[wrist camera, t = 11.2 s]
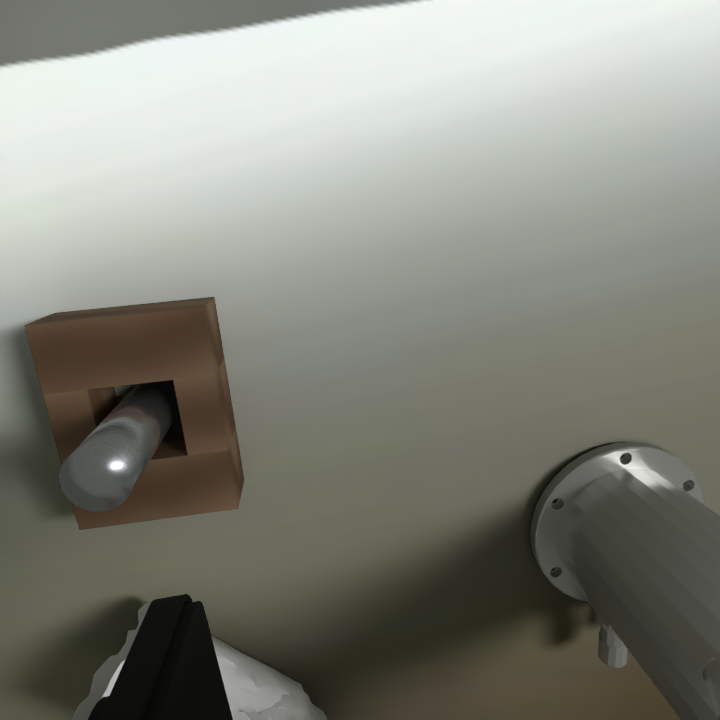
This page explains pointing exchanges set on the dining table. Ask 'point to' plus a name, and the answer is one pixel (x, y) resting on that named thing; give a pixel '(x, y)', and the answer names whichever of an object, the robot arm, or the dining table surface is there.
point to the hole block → (135, 366)
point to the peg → (119, 448)
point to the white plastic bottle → (241, 681)
